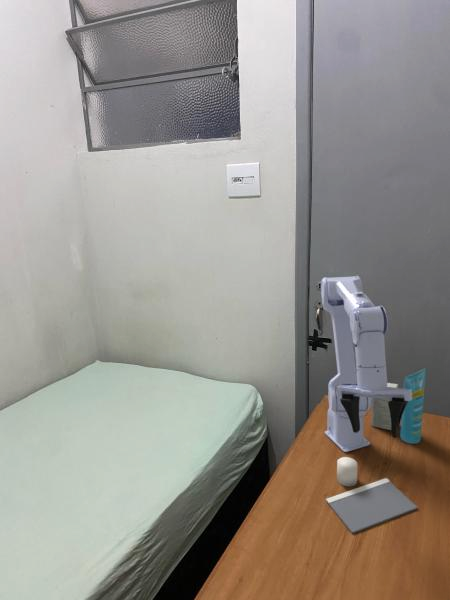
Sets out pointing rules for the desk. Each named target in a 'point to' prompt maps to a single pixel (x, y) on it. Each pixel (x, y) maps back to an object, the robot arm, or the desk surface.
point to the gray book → (370, 505)
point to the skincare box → (381, 411)
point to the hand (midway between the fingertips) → (375, 433)
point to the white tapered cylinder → (347, 471)
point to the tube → (413, 408)
